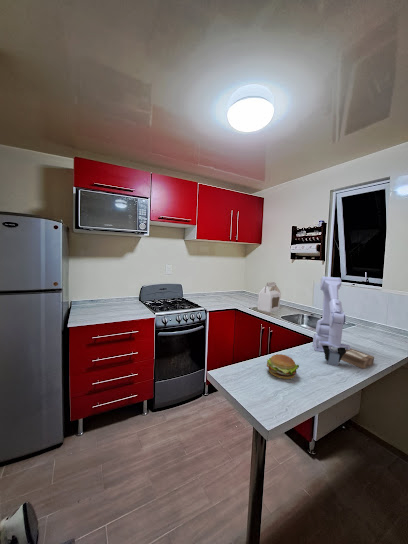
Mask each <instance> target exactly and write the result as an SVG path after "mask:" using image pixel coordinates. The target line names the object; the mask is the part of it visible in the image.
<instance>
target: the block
mask: <svg viewBox="0 0 408 544" xmlns="http://www.w3.org/2000/svg"><path fill="white" fill-rule="evenodd" d="M325 362H326V363H327V364H328V365H329V366H330V365H331V366H336V367H339V363H340V362H339V354H338V350H332V349H331V350H330V351H329V354H328V361H327V360H326V359H325Z"/></svg>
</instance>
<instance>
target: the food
mask: <svg viewBox="0 0 408 544" xmlns="http://www.w3.org/2000/svg"><path fill="white" fill-rule="evenodd" d="M266 362H267V363H266V367H267V368H268V371H269V373H270V374H271V375H272V376H274V377H277V378H278V379H283V380H292V379H294V378H295V376H296V374H297V370H298V369H299V368H300V364H296V362H295V361H294V360H293V358H292V357H290V356H288V355H286V354H278V353H277V354H273V355H272V356H271V357H269V358H268V359H266Z"/></svg>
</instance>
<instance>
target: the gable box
mask: <svg viewBox="0 0 408 544" xmlns="http://www.w3.org/2000/svg"><path fill="white" fill-rule="evenodd" d="M281 295H282V293H281V291H280V289H279V287H278V286H277V283H276V282H275V281H270V282H267V283H266V285H264V286H263V287H262V288H261V290H260V291H259V292H258V299H257V301H258V302H257V310H258V311H262V312H266V313H273V312H275V311H278V310H280V307H281V306H280V305H281Z"/></svg>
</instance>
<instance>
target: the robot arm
mask: <svg viewBox="0 0 408 544" xmlns="http://www.w3.org/2000/svg"><path fill="white" fill-rule="evenodd" d="M319 286H320V290H321V291H322V292H323V296H322V297H323V298H322V299H323V300H322V316H321V317H322V318H320V319H318V320H317V321H316V325H315V332H316V333H314V334H313V338H312V339H313V340H312V347H313V349H314V350H315V351H316V352H324V353H323V354H324V359H325V361H326V360H327V361H328V354H329V351H330V350H332V349H331V348H335V349H337V352H338V354H339V363H340V362H341V361H342V360H341V358H342V356H343V355H344V354H345V353H346V349H348V350H350V348H351V345H350V344H345V343H342V336H343V328H344V325H345V324H346V319H347V317H346V316H347V315H346V313H345V312H344V311H343V307H342V302H341V300H339V290H340V288H341V287H342V278H341V277H333V276H324V275H323V276H322V277H321V279H320V285H319ZM327 361H326V362H327Z"/></svg>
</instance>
